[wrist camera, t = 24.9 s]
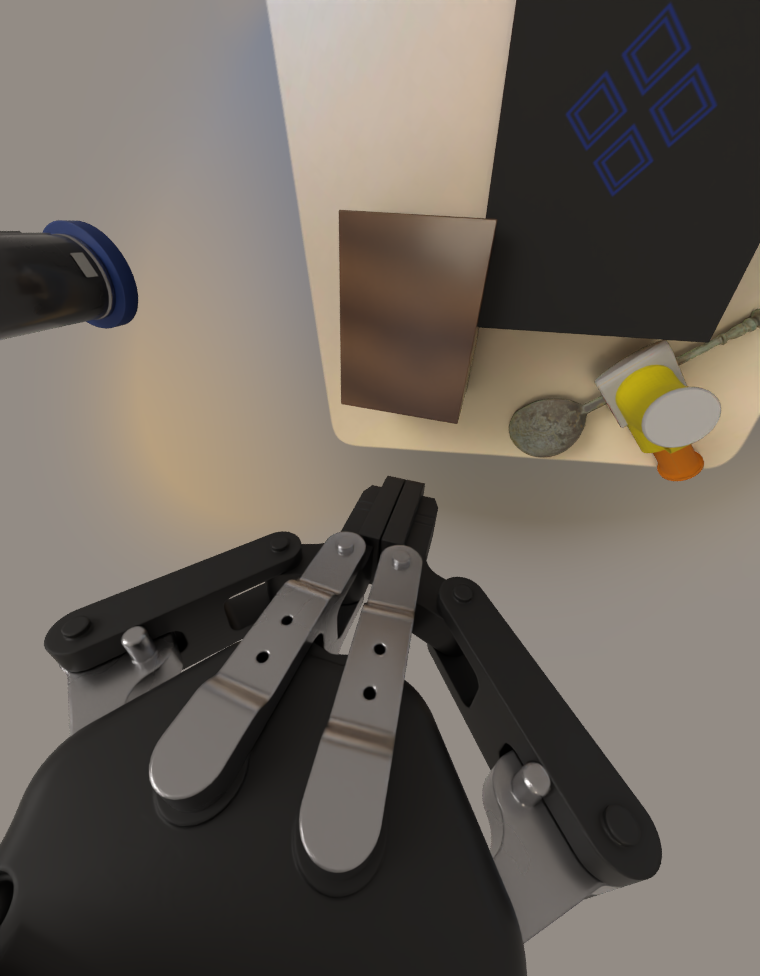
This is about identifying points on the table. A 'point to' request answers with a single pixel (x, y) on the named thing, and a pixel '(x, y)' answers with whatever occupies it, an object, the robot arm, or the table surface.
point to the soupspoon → (584, 408)
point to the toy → (660, 408)
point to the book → (625, 167)
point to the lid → (410, 309)
